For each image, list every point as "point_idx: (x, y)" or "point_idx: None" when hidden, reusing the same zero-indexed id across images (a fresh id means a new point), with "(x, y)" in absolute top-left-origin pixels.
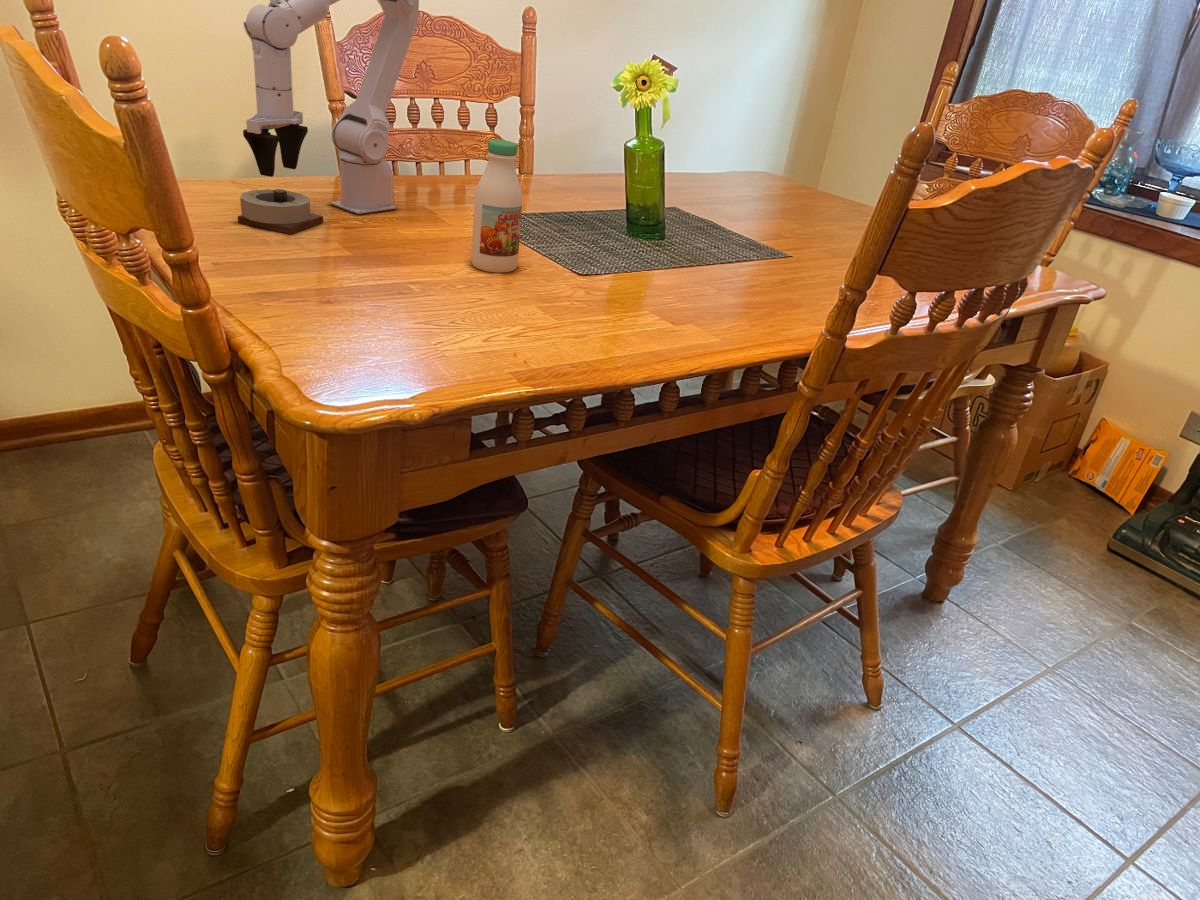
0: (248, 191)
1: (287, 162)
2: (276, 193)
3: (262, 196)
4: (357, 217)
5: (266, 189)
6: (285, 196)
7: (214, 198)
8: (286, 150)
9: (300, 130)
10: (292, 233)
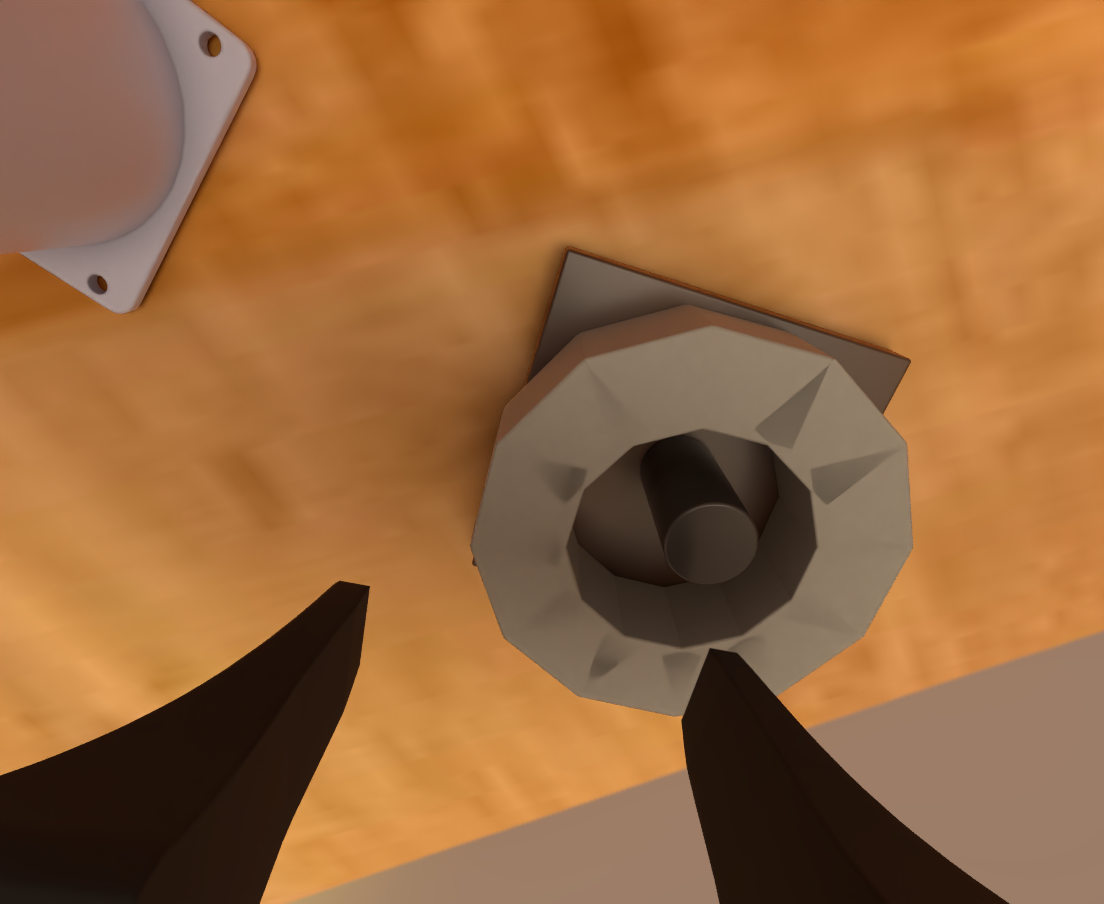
0: (615, 702)
1: (349, 669)
2: (750, 550)
3: (620, 623)
4: (316, 50)
5: (513, 642)
6: (729, 491)
7: (393, 798)
8: (300, 763)
9: (159, 894)
10: (874, 345)
